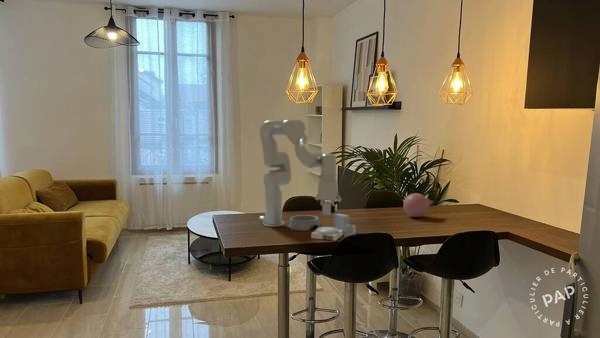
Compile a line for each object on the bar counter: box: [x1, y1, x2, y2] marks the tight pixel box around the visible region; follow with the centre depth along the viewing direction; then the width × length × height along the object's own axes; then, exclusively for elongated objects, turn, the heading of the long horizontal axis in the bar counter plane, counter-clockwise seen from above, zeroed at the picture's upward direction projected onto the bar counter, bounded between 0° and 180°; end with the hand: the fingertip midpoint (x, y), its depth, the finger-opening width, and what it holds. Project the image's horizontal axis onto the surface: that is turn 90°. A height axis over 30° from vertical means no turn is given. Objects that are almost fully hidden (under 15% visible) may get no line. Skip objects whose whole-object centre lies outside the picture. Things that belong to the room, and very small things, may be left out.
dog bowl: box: [288, 214, 321, 231], centre depth 242 cm, size 17×18×5 cm
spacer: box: [343, 223, 356, 238], centre depth 220 cm, size 4×4×6 cm
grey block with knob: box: [321, 200, 333, 216], centre depth 219 cm, size 4×4×6 cm
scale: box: [310, 226, 344, 242], centre depth 220 cm, size 13×14×4 cm
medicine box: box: [333, 213, 350, 233], centre depth 233 cm, size 8×4×9 cm, turn 43°
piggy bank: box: [402, 192, 434, 218], centre depth 269 cm, size 15×20×15 cm
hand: (328, 212), depth 219 cm, fingers closed on grey block with knob, 4 cm apart
